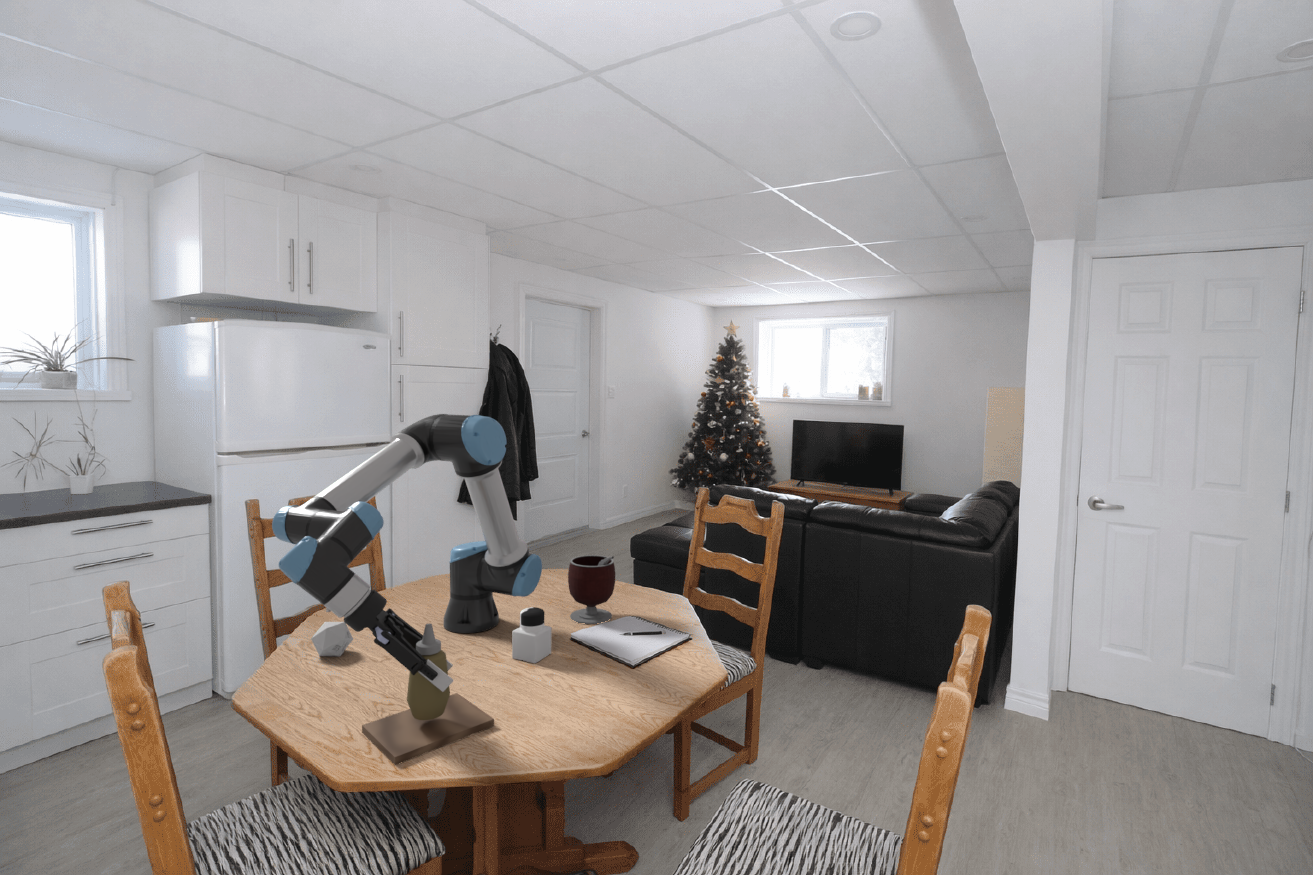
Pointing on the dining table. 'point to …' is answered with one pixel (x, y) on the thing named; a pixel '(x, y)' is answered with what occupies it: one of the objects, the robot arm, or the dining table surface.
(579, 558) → the mate gourd
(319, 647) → the die
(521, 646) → the medicine bottle
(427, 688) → the squeeze bottle
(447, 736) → the walnut board
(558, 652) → the dining table surface
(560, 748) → the dining table surface
